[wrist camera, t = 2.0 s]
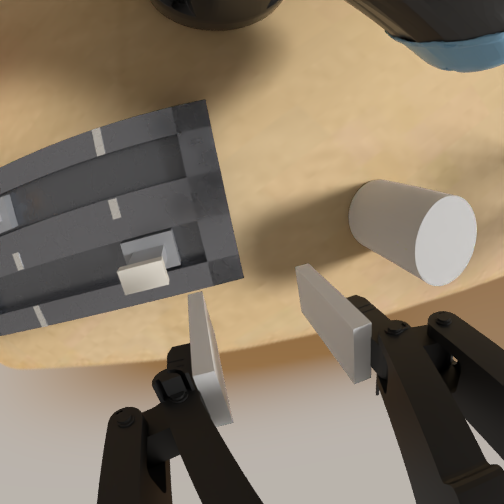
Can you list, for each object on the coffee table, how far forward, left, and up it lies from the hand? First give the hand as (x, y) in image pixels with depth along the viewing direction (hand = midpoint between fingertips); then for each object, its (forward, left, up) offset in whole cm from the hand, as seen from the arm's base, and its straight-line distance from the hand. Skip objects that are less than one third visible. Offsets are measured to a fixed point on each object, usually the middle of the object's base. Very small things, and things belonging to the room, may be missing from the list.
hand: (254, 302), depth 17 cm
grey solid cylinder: (+3, +18, -17) cm, 25 cm away
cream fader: (0, -7, -15) cm, 17 cm away
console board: (-4, -15, -17) cm, 23 cm away
